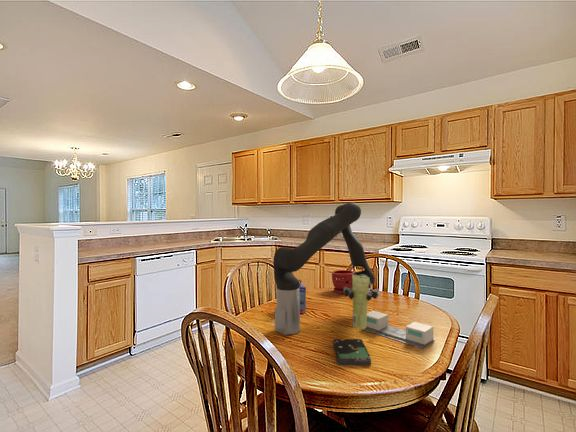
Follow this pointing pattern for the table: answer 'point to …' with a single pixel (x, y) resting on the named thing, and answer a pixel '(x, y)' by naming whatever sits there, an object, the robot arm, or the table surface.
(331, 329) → the table surface
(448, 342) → the table surface
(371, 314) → the mounted blocks
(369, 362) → the disk drive
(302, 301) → the ink cartridge box
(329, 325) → the table surface
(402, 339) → the rail plate
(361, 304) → the tube
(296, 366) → the table surface
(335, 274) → the plant pot
